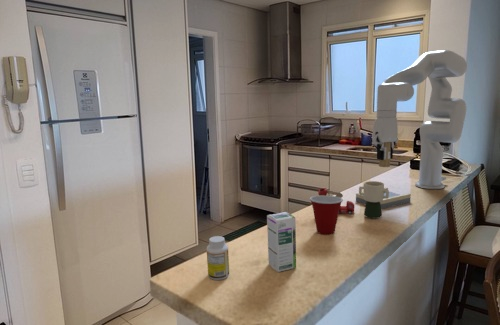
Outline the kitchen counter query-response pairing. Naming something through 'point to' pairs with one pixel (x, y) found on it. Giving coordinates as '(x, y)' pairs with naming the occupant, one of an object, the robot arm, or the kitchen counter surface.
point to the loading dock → (388, 199)
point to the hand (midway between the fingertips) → (384, 158)
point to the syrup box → (281, 241)
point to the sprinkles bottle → (386, 155)
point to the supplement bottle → (217, 258)
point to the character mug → (373, 198)
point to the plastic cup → (326, 213)
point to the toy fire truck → (343, 209)
